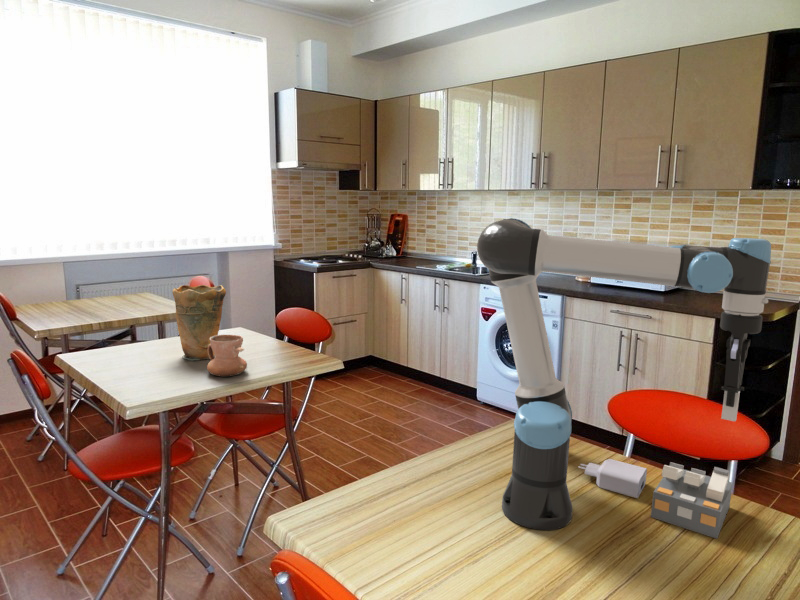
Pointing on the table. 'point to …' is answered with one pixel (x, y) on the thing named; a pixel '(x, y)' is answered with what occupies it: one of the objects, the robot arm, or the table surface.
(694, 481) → the rocker
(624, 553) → the table surface
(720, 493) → the rocker
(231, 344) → the ceramic jug
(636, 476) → the charger
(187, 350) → the vase
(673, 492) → the switch unit
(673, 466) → the rocker
